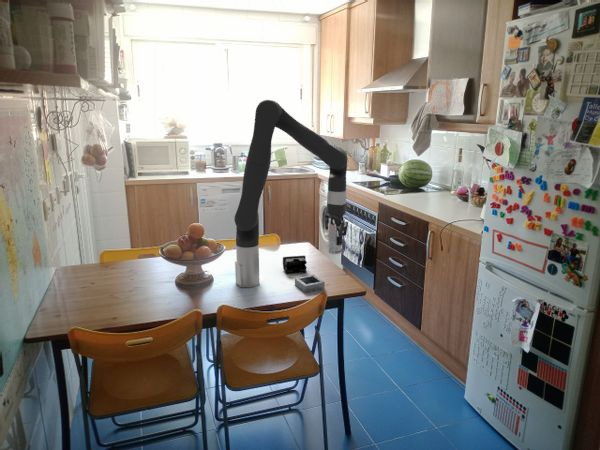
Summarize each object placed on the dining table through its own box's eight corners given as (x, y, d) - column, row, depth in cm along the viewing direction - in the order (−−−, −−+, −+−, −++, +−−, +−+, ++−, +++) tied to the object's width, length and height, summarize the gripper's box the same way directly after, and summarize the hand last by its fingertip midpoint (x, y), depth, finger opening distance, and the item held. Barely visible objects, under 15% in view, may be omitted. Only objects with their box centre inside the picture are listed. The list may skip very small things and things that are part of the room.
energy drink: (343, 251, 180) (344, 223, 177) (337, 255, 176) (339, 226, 172) (331, 249, 183) (332, 221, 179) (325, 252, 178) (326, 224, 175)
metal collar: (305, 293, 177) (305, 286, 177) (294, 285, 185) (294, 278, 184) (324, 288, 182) (324, 282, 181) (313, 281, 189) (313, 274, 188)
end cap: (303, 267, 205) (304, 253, 203) (307, 273, 199) (307, 258, 197) (282, 269, 203) (282, 255, 201) (285, 274, 197) (285, 260, 195)
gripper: (318, 199, 178) (318, 239, 182) (338, 206, 166) (336, 249, 170) (334, 197, 181) (333, 237, 186) (355, 204, 169) (353, 246, 174)
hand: (335, 242), depth 178 cm, fingers closed on energy drink, 5 cm apart
